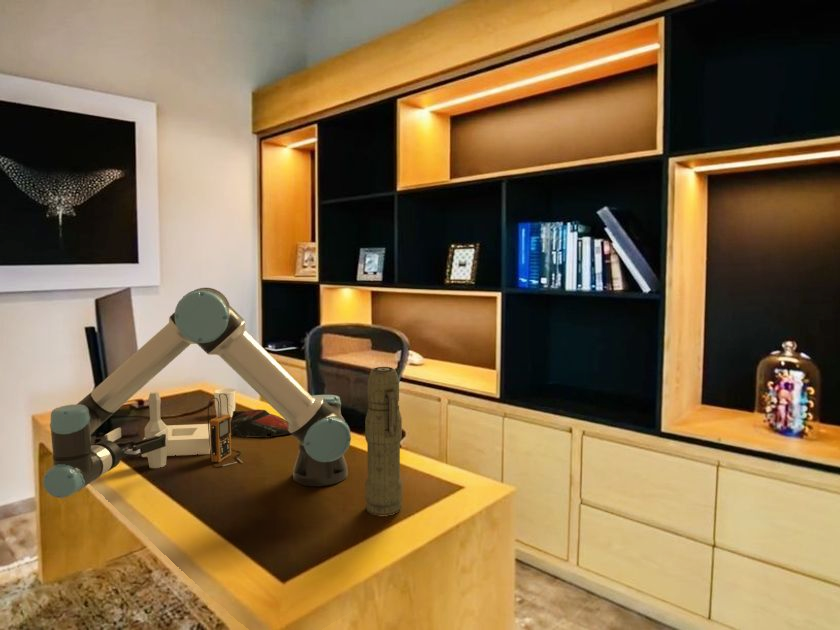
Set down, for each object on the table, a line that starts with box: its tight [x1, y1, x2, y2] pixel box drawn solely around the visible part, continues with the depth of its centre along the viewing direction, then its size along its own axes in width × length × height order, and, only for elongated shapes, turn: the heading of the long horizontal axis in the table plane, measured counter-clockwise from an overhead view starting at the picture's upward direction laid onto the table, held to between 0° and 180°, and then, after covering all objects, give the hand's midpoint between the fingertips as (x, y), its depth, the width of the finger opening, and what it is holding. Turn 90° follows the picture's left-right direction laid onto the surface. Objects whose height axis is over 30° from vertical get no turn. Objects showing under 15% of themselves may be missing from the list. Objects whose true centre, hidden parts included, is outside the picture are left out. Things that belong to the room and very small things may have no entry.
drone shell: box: [230, 409, 291, 438], centre depth 201 cm, size 21×20×8 cm
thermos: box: [364, 366, 403, 515], centre depth 138 cm, size 9×12×35 cm
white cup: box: [213, 388, 237, 418], centre depth 219 cm, size 8×8×10 cm
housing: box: [141, 423, 211, 458], centre depth 184 cm, size 16×20×5 cm
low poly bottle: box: [144, 391, 168, 469], centre depth 167 cm, size 6×6×22 cm
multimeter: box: [207, 393, 244, 469], centre depth 172 cm, size 15×10×20 cm
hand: (143, 432), depth 161 cm, fingers open, 13 cm apart
